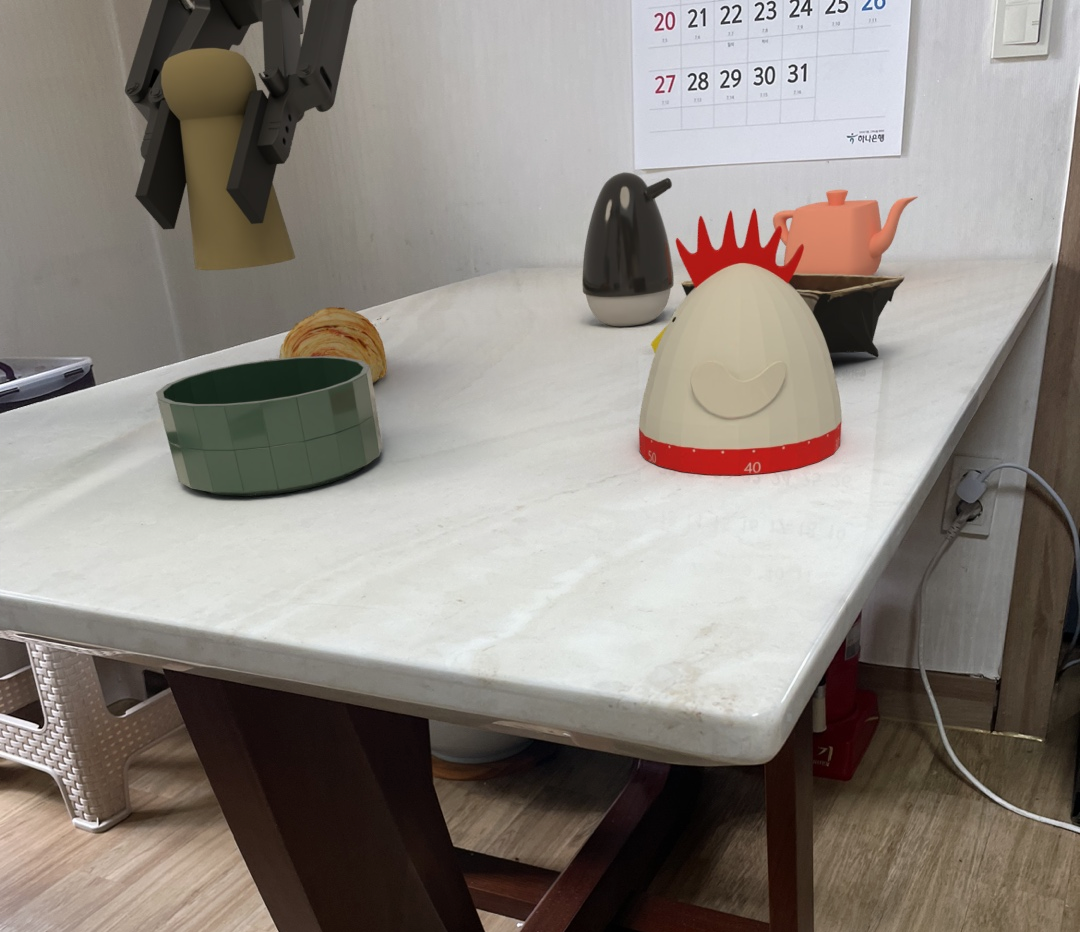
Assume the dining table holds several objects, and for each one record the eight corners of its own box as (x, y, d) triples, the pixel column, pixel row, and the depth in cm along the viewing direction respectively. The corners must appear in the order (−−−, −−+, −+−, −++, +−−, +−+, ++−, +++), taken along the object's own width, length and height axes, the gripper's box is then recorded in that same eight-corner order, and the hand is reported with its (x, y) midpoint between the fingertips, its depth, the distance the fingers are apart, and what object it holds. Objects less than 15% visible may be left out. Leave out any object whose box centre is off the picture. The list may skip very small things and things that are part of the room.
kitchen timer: (647, 422, 81) (642, 208, 73) (831, 415, 78) (844, 193, 71) (632, 478, 69) (623, 229, 61) (847, 472, 66) (866, 212, 59)
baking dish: (776, 360, 105) (762, 254, 100) (930, 350, 91) (921, 227, 86) (671, 401, 98) (652, 289, 94) (819, 397, 84) (804, 266, 80)
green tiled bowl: (138, 499, 74) (112, 407, 70) (245, 440, 86) (227, 358, 83) (328, 502, 70) (310, 404, 66) (413, 439, 82) (401, 354, 79)
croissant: (372, 438, 96) (401, 355, 93) (264, 398, 93) (291, 310, 90) (370, 385, 114) (395, 314, 111) (280, 349, 111) (302, 275, 108)
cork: (174, 270, 63) (123, 55, 58) (249, 255, 67) (208, 54, 62) (241, 270, 60) (194, 44, 54) (316, 255, 64) (279, 43, 59)
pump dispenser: (657, 331, 113) (654, 173, 105) (570, 330, 117) (561, 179, 109) (688, 313, 120) (687, 165, 113) (605, 314, 125) (598, 171, 117)
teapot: (788, 274, 140) (791, 188, 135) (924, 275, 131) (933, 182, 125) (752, 288, 132) (754, 197, 127) (894, 290, 123) (903, 192, 118)
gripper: (439, -75, 65) (372, 246, 60) (189, -38, 70) (107, 261, 65) (393, -204, 58) (312, 146, 53) (118, -153, 63) (20, 171, 58)
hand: (199, 209), depth 59 cm, fingers closed on cork, 5 cm apart
